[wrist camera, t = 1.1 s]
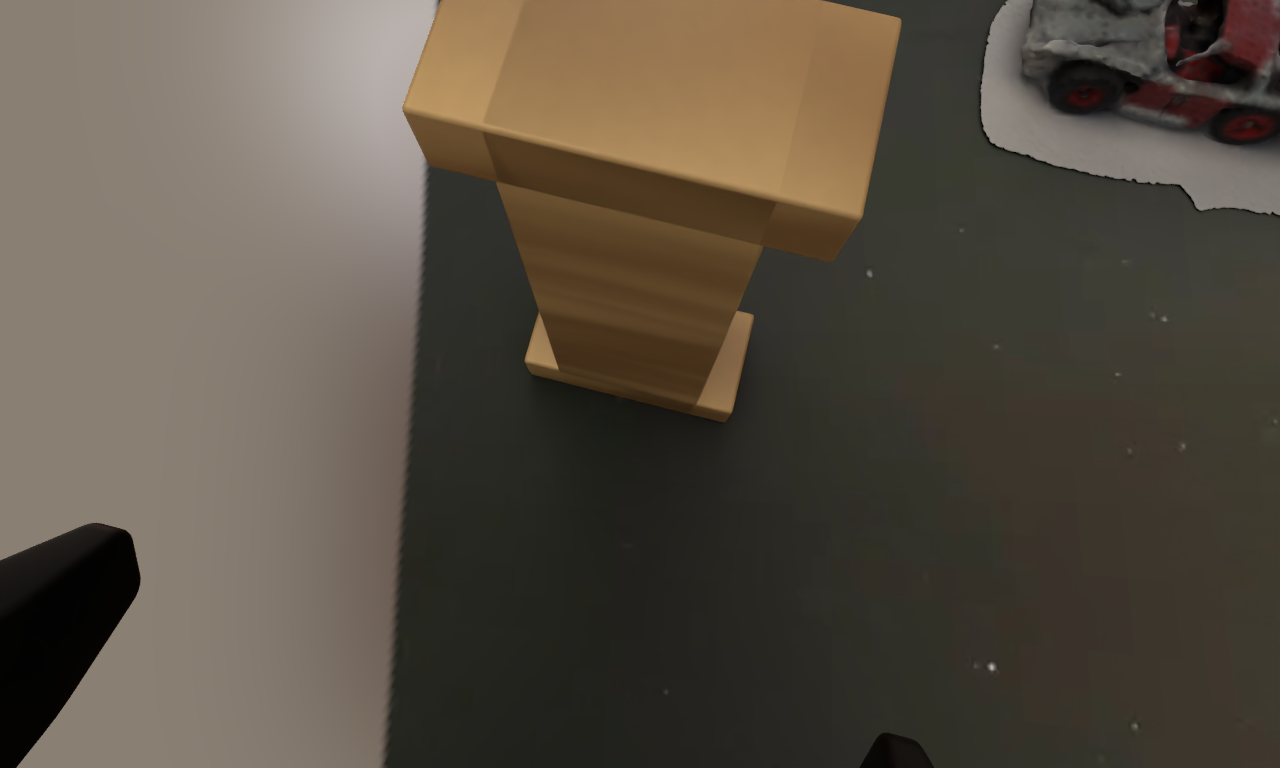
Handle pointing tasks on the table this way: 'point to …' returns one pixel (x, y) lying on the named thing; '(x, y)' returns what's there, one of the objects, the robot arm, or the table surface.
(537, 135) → the letter I
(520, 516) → the table surface
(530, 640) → the table surface
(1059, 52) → the toy car
